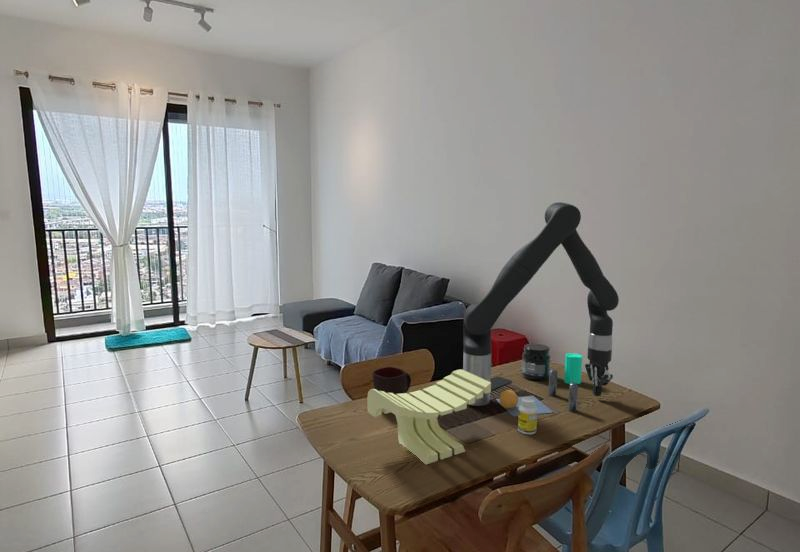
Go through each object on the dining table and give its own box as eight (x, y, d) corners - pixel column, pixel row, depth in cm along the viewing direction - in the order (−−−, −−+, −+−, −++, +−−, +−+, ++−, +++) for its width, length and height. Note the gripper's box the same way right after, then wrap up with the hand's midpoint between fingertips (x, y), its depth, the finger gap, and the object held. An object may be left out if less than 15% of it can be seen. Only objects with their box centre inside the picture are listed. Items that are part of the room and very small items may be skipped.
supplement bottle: (514, 428, 147) (515, 397, 145) (529, 425, 149) (530, 394, 147) (524, 436, 142) (526, 403, 140) (540, 433, 144) (541, 401, 142)
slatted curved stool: (453, 422, 151) (455, 366, 148) (489, 443, 137) (491, 382, 135) (367, 447, 135) (367, 385, 133) (398, 474, 122) (398, 405, 119)
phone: (513, 381, 185) (489, 390, 175) (513, 383, 185) (489, 392, 175) (497, 376, 191) (472, 385, 181) (497, 378, 191) (472, 387, 181)
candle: (582, 385, 182) (583, 354, 180) (565, 384, 183) (566, 353, 181) (579, 379, 187) (581, 349, 186) (563, 378, 189) (564, 348, 187)
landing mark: (512, 416, 155) (512, 415, 155) (495, 399, 168) (495, 398, 168) (553, 412, 158) (553, 412, 158) (533, 396, 171) (533, 395, 171)
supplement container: (544, 372, 196) (546, 343, 194) (553, 381, 186) (554, 350, 184) (518, 372, 196) (519, 343, 194) (525, 381, 185) (526, 351, 184)
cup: (368, 407, 162) (368, 372, 160) (398, 395, 171) (399, 362, 170) (388, 416, 155) (388, 379, 153) (419, 404, 164) (419, 369, 163)
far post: (550, 396, 171) (551, 372, 169) (547, 394, 173) (548, 369, 172) (557, 396, 171) (558, 371, 170) (553, 393, 174) (555, 369, 172)
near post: (571, 412, 158) (572, 385, 157) (566, 409, 160) (568, 382, 159) (578, 411, 158) (579, 385, 157) (574, 408, 161) (575, 382, 160)
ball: (500, 401, 157) (515, 390, 158) (493, 395, 163) (507, 383, 163) (510, 415, 158) (524, 403, 159) (502, 408, 164) (516, 397, 165)
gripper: (579, 341, 171) (576, 389, 174) (601, 352, 159) (598, 403, 161) (598, 340, 173) (595, 387, 175) (622, 351, 160) (618, 402, 163)
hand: (596, 395), depth 168 cm, fingers closed
